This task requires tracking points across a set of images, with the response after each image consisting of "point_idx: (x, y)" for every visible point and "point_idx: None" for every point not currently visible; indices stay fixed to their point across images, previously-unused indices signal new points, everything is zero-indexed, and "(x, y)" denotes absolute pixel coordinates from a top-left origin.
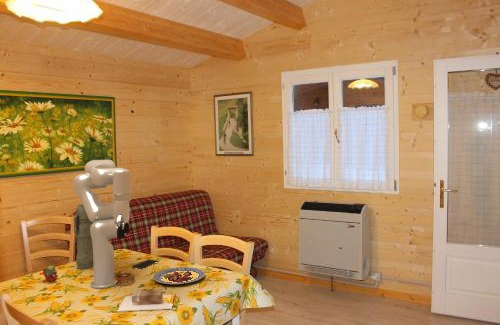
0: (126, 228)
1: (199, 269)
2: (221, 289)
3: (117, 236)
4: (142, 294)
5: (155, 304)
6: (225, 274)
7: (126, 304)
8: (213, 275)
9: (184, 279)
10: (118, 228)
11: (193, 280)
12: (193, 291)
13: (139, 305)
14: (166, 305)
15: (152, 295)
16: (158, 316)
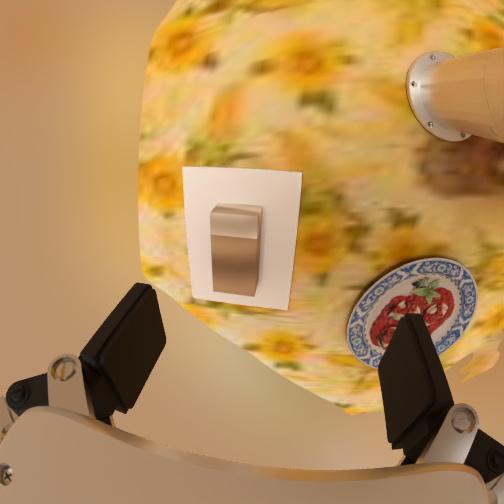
0: (392, 396)
1: None
2: (298, 383)
3: (129, 297)
4: (221, 243)
5: None
6: None
7: (227, 184)
8: None
9: (381, 334)
10: (55, 376)
11: (355, 352)
12: (304, 343)
13: None
14: (209, 288)
15: (212, 271)
16: (159, 268)
